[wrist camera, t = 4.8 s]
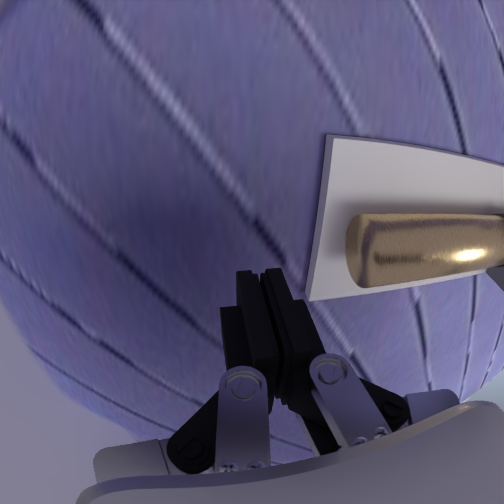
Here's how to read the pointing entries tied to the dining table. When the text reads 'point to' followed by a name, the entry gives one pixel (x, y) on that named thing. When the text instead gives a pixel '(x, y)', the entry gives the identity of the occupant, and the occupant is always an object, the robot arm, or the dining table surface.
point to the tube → (421, 246)
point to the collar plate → (393, 201)
